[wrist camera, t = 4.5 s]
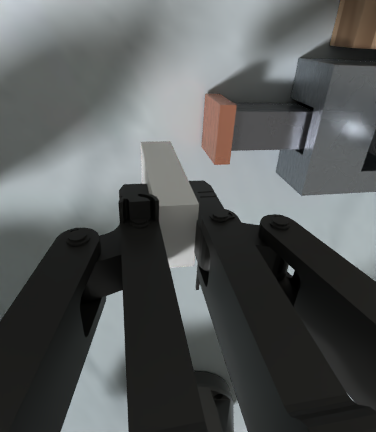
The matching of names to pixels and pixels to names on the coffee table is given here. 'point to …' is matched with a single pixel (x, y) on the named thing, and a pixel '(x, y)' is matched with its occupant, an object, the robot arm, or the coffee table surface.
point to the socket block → (334, 128)
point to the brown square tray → (355, 24)
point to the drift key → (251, 127)
